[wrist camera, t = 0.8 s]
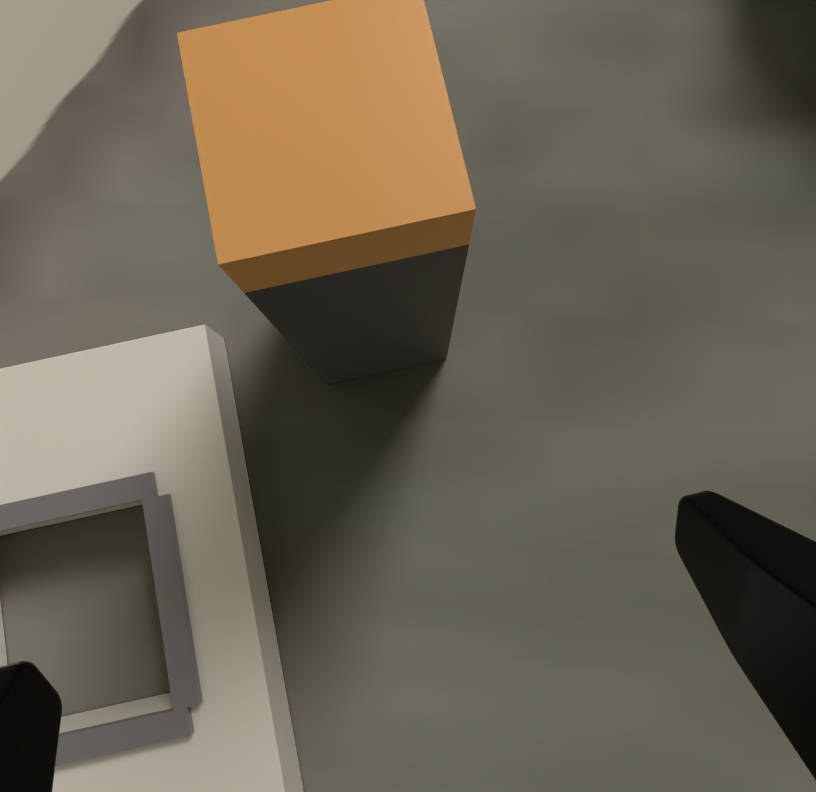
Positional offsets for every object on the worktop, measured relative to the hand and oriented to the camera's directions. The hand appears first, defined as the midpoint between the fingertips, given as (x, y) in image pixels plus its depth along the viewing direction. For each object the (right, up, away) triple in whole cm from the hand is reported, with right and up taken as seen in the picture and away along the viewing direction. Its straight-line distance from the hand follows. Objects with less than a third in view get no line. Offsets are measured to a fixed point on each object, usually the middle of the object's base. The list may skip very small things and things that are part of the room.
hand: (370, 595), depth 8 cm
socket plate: (-10, -5, +13) cm, 17 cm away
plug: (-1, +6, +14) cm, 15 cm away
